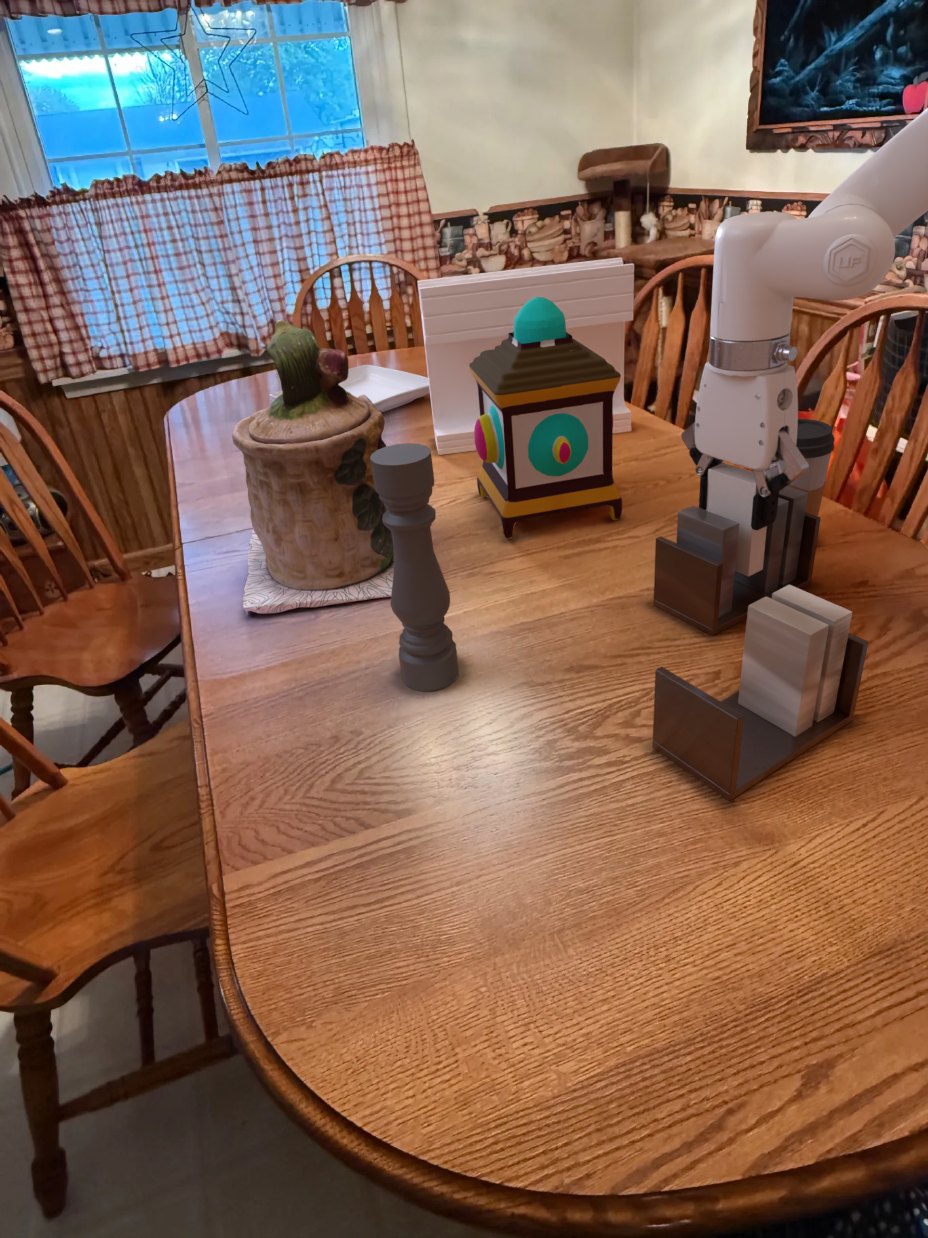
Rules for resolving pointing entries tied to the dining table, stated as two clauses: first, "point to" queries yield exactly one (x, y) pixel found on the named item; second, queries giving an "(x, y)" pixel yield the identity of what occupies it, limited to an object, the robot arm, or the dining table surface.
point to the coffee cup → (812, 460)
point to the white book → (738, 512)
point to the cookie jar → (313, 485)
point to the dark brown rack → (765, 695)
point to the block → (484, 315)
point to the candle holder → (415, 566)
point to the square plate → (382, 386)
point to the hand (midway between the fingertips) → (736, 514)
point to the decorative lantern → (544, 421)
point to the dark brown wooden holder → (731, 563)
